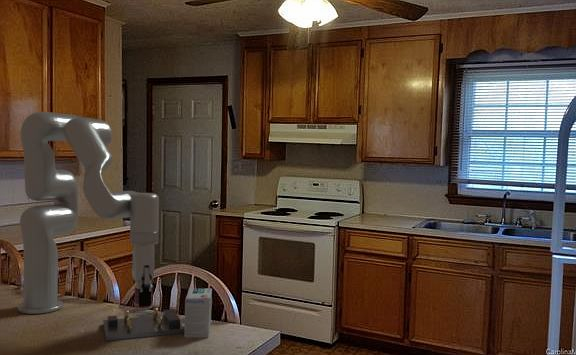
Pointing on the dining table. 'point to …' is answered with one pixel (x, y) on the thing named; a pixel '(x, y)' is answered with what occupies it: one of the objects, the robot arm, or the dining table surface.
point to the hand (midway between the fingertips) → (143, 302)
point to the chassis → (142, 325)
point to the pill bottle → (137, 290)
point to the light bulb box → (198, 313)
